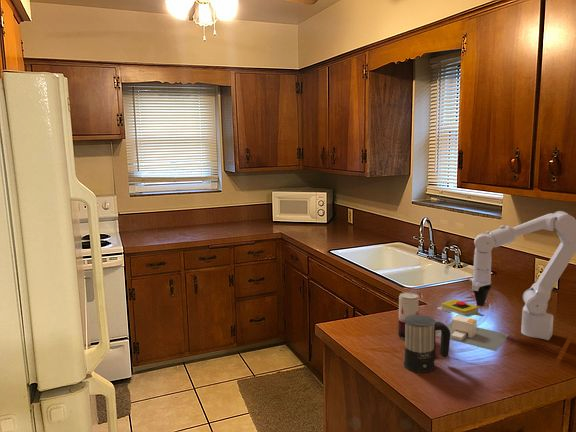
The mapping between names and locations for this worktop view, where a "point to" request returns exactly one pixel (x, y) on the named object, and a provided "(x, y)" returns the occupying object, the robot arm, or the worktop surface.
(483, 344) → the rail panel
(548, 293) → the robot arm
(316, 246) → the worktop surface
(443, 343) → the milk frother
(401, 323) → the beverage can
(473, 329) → the block
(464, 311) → the emergency button
